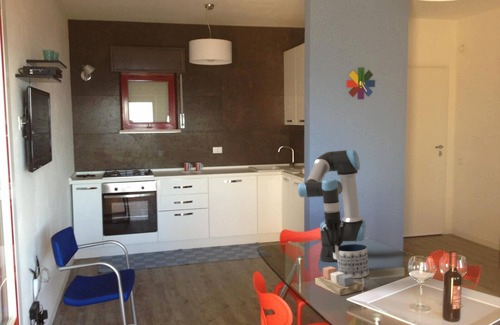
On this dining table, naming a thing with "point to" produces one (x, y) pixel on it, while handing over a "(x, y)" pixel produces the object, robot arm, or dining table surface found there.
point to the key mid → (336, 276)
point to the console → (338, 286)
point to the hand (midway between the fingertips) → (336, 258)
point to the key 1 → (328, 272)
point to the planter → (353, 260)
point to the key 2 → (346, 280)
